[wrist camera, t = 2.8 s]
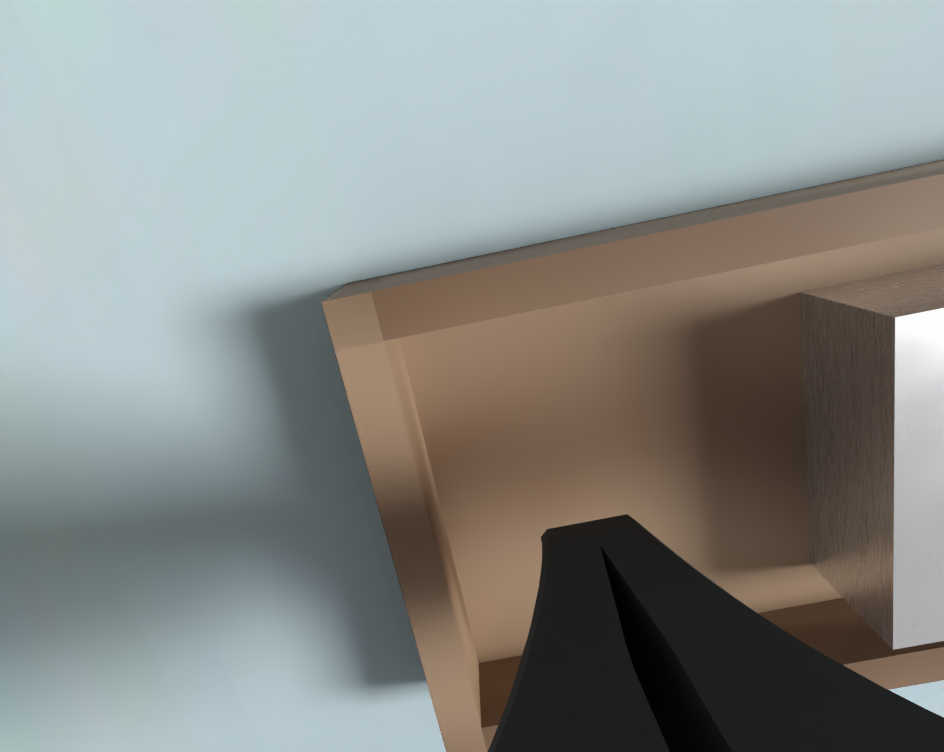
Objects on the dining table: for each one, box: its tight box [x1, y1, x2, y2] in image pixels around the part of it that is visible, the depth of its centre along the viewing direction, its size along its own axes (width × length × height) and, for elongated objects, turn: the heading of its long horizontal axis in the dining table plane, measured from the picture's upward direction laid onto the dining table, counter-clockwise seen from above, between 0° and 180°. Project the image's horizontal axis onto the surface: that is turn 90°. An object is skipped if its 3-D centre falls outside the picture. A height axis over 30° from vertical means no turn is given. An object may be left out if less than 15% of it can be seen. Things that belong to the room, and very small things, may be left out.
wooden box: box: [321, 160, 944, 752], centre depth 11 cm, size 10×14×2 cm
